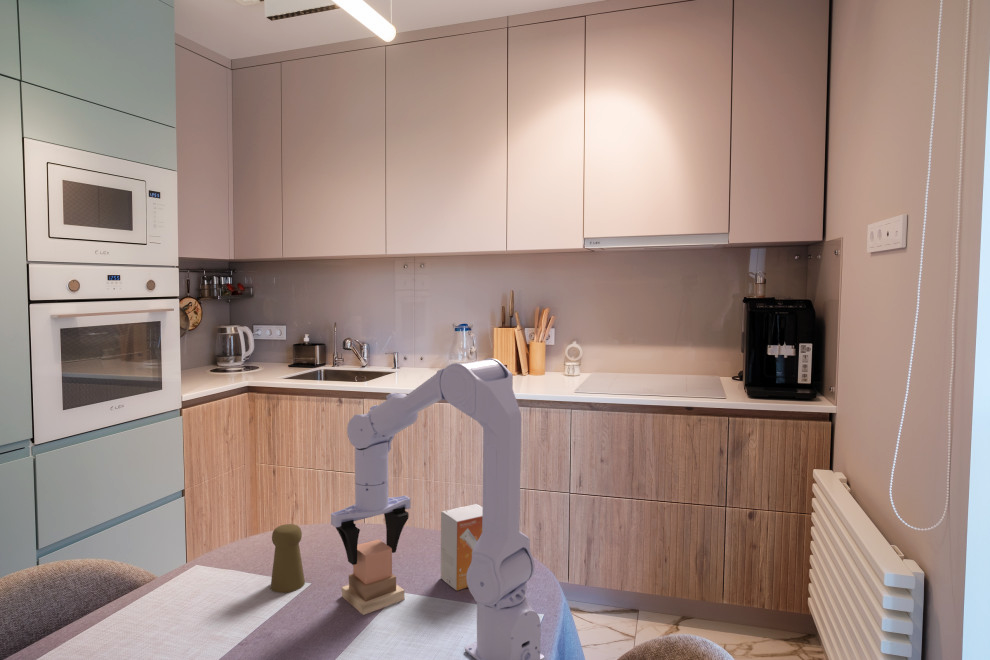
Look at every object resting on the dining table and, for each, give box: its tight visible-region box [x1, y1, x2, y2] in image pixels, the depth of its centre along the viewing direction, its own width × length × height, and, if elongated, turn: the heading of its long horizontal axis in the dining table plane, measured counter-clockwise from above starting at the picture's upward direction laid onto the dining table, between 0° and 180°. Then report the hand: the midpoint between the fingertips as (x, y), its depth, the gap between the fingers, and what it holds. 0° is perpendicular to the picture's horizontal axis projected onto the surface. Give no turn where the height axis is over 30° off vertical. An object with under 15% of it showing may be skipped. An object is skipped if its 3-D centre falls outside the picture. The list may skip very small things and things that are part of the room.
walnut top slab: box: [348, 573, 397, 602], centre depth 106 cm, size 6×6×2 cm
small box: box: [440, 503, 483, 592], centre depth 113 cm, size 8×6×13 cm
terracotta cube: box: [352, 538, 393, 584], centre depth 106 cm, size 5×5×5 cm
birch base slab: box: [341, 583, 405, 616], centre depth 106 cm, size 8×8×2 cm
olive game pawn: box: [269, 523, 306, 594], centre depth 110 cm, size 6×6×11 cm
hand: (372, 556), depth 106 cm, fingers open, 7 cm apart
